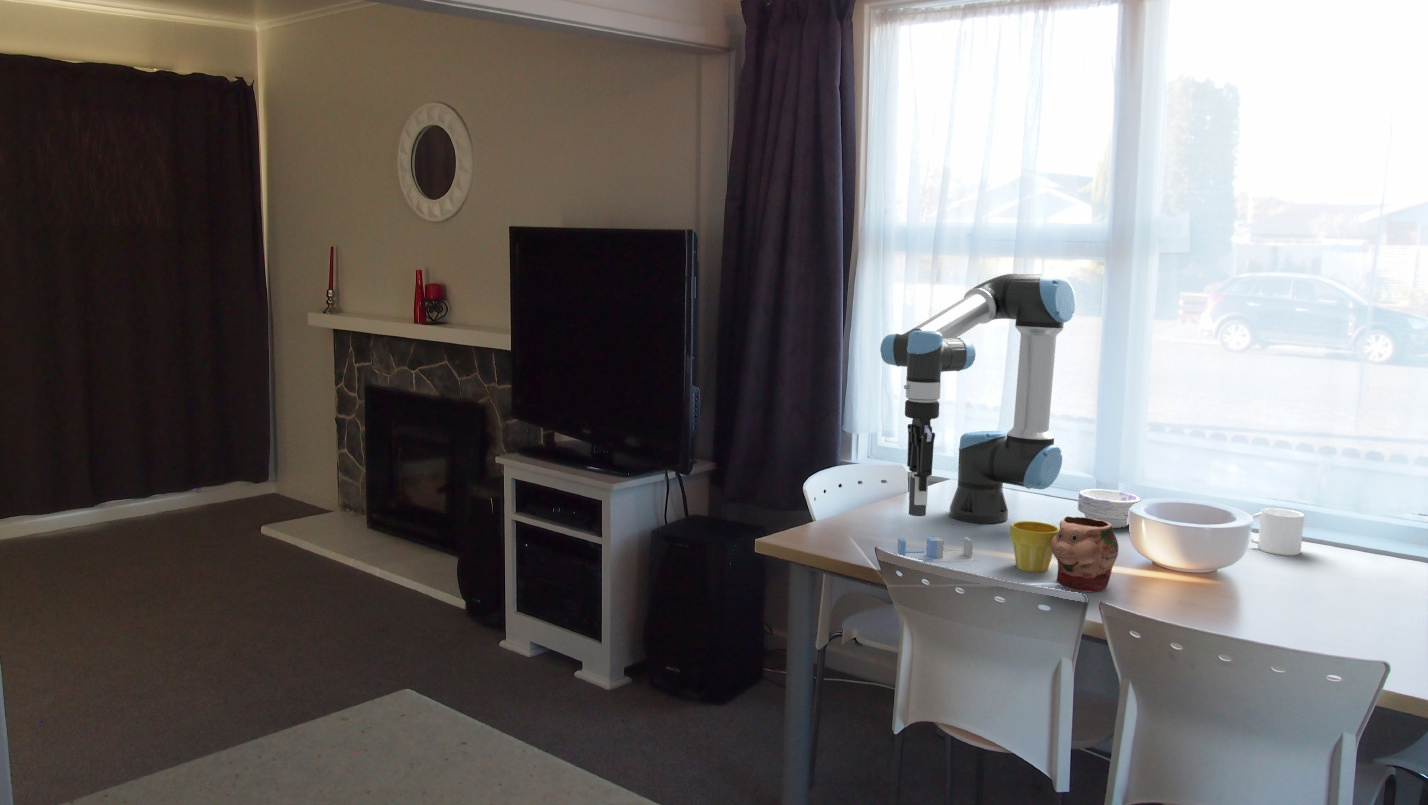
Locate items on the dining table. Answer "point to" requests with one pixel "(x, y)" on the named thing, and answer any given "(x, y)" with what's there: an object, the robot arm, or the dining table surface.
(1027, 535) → the plant pot
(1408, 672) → the dining table surface
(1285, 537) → the mug
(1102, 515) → the paper bowls
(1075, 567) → the decorative planter
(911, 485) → the dark gray cylinder
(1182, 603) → the dining table surface
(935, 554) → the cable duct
